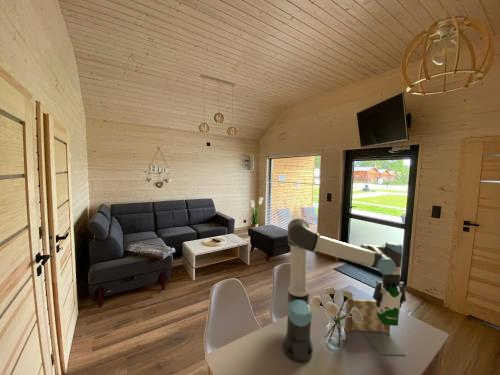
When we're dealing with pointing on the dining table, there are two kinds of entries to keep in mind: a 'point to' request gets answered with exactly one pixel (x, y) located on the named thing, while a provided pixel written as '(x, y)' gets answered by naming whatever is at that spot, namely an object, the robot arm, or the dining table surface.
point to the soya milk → (390, 306)
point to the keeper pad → (385, 345)
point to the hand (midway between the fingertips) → (387, 312)
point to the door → (367, 316)
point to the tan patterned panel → (348, 319)
